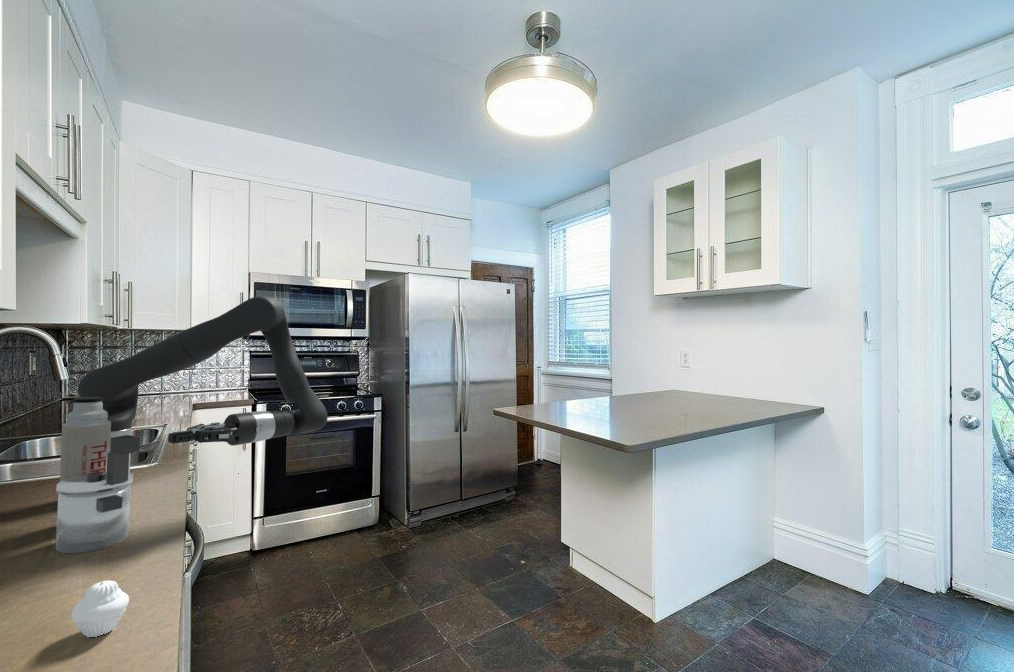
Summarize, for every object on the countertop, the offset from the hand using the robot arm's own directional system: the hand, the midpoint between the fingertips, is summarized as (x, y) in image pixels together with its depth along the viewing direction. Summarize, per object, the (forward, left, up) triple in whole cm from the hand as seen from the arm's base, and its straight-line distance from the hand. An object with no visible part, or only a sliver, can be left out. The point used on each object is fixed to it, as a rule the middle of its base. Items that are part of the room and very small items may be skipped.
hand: (169, 438), depth 99 cm
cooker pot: (-5, -10, -20) cm, 23 cm away
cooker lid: (-5, -10, -9) cm, 14 cm away
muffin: (+30, -20, -20) cm, 42 cm away
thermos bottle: (-19, -8, -20) cm, 29 cm away
